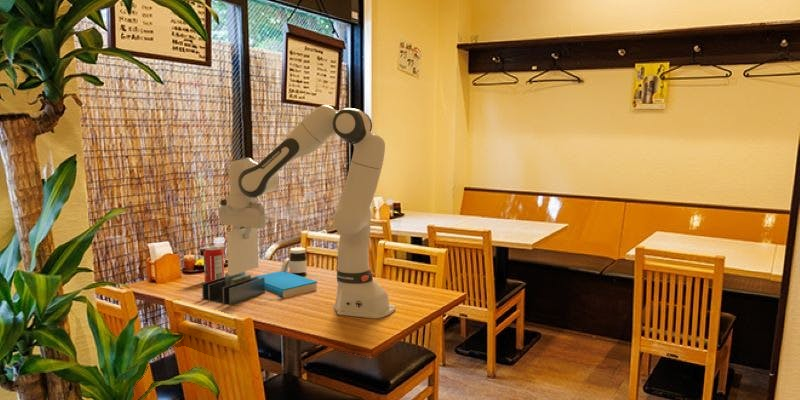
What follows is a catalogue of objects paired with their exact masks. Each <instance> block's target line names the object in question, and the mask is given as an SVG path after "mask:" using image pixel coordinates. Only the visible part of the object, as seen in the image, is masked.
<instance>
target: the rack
mask: <svg viewBox="0 0 800 400" xmlns="http://www.w3.org/2000/svg"><path fill="white" fill-rule="evenodd" d="M255 276H256V277H255ZM255 276H252V275H251V274H250V273H249V274H248V273H247V274H246V271H245V272H242V273H238V274H235V275H232V276H231V275H228V271H227V272H224V277H222V278H219V279H216V280H212V281H209V282H203V283H201V291H202V292H201V293H202V298H201V300H204V301H208V302H214V303H218V304H222V305H223V304H224V305H228V306H235V305H237V304H240V303H241V302H242V303H243V302H245V301H248V300H250V299H253V298H256V297H259V296H261V295H265V294H266V291H265V290H266V289H265V280H264V277H263V278H260V279H258V276H259V275H255ZM251 277H253V278H251Z"/></svg>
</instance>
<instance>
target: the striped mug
mask: <svg viewBox="0 0 800 400" xmlns="http://www.w3.org/2000/svg"><path fill="white" fill-rule="evenodd" d="M307 267H308V266H307V253H306V248H305V247H300V246H299V247H298V246H297V247H291V248H290V249H289V255H288V257H287V258H286V259H284V261H283V263H282V265H281V268H280V269H281V270H280V271H286V272H288V271H289V273H292V274H295V275H298V276H302V277H304V276H306V274H307V272H308V271H307V269H308V268H307Z"/></svg>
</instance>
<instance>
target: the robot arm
mask: <svg viewBox="0 0 800 400" xmlns="http://www.w3.org/2000/svg"><path fill="white" fill-rule="evenodd" d="M372 130H373V122H372V119H371V117H370V116H369V115H368V114H367V113H366V112H364V111H362V110H360V109H357V108H352V107H345V108H342V109H341V110H338V111H337V109H335V108H334V107H332V106H331V105H327V104H322V105H320V106H319V107H317V108H315V109H314V110H312V111H311V112H310V113H309V114H308V115H306V116H305V117H304V118H303V119H302V120H301V121H300V122H299V123H298V124H297V125H296V126H295V127H294V129H292V131H291V132H290V133H289V134H288V135H287V136H286V137H285V138H284V139H283V140H282V141H281V143H280V144H279V145H277V146H276V148H274V149H273V150H272V151H271V152H270V153H269V154H268V155H267V156H265V158H263V159H262V160H261V161H260V162H259V163H258V162H256V161H254V160H253V159H252V158H251V157H241V158H235V159H233V160H231V161H230V162H229V165H228V166H229V168H228V184H229V195H228V197H225V198H222V199H219V201H218V204H219V209H218V220H219V223H220V224H221V225H225V226H233V231H234V230H239V229H242V228H245V230H246V231H245V234H243V239H248V238H249V233H250V231H251V228H257V230H258V229H264V228H265V227H266V225H267V219H266V214H265V207H264V205H263V204H262V203H261V202H255V198H258V197H259V196H261V195H265V194H270V193H271V192H274V191H275V190H277V188H278V187H279V184H280V177H279V174H278V172H279V171H280V170H281V169H282V168H283V167H285V166H286V165H287V164H288V163H289V162H292V161H294V160H296V159H298V158H302V157H305V156H308V155H310V154H312V153H314V152H315V151H316V150H318V149H319V148H320V147H321V146H322V145H324V144H325V143H326V141H328V139H330V138H331V137H332V136H334V135H335V134H336V135H337V136H338V137H339V138H341V139H342V140H344V141H346V142H347V143H348V144H350V145H353V152H352V156H351V157H352V158H351V161H350V166H349V168H348V172H347V177H346V180H345V183H344V187H343V189H342V192H341V194H340V197H339V201H338V203H337V207H336V209H335V212H334V215H333V218H332V220H333V226H334V228H335V230H336V231H337V232H338V233H339V241H338V245H337V246H338V247H337V270H336V283H337V288H336V290H337V291H336V297H335V302H334V306H333V309H334V311H336V314H337V315H339V316H348V317H350V316H351V317H359V318H367V319H380V318H383V317H386V316H388V315H390V314H393V313H394V312H395V311H396V306H395V305H394V304H392V303H390V301H389V295H388V291H386V290H384V288H382V287H381V286H380V285H379V284H378V283H377V282H376V281H374V280H373V276H375V273H376V272H375V271H374V272H371V270H370V268H369V246H370V237H371V236H370V235H371V226H372V225H371V221H372V219H371V218H372V211H371V208H370V207H371V205H372V202H373V199H374V196H375V194H376V191H377V187H378V183H379V181H380V176H381V173H382V168H383V165H384V160H385V159H384V158H385V152H386V142H385V140H384V139H383V138H382V137H381V136H380V135H378V134H375V133H373V132H372Z"/></svg>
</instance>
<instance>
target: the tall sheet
mask: <svg viewBox="0 0 800 400" xmlns="http://www.w3.org/2000/svg"><path fill="white" fill-rule="evenodd" d="M245 231H246V230H245V227H243V228H240V229H239V230H234V229H233V230H230V231H227V232H226V240H227V243H226V245H227V249H226V250H227V270H228V271H227V272H228V275H231V276H232V275H235V274H238V273H242V272H245V273H246V272H248V271H251V270H255V269H258V268H259V237H258V234H259V233H258V229H257V228H251V231H250V233H249V238H248V239H243V234H245Z"/></svg>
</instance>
